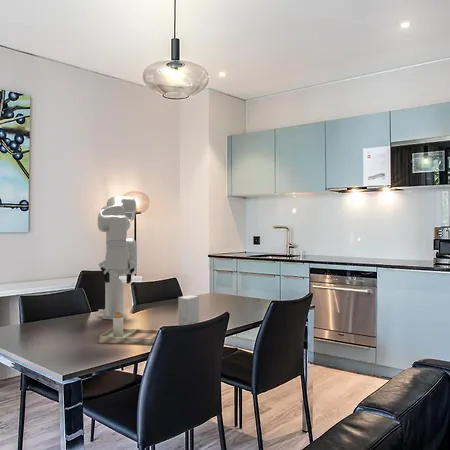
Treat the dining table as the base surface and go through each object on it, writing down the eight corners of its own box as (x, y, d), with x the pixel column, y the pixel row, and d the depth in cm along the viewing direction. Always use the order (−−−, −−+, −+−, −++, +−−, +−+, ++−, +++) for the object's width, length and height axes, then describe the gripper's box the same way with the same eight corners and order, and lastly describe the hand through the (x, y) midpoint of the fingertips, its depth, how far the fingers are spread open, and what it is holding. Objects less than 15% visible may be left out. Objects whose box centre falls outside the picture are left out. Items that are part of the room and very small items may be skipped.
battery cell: (111, 337, 201) (111, 312, 201) (115, 334, 206) (115, 310, 206) (121, 337, 201) (121, 312, 200) (124, 335, 205) (124, 310, 205)
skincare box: (189, 326, 227) (189, 294, 226) (199, 328, 222) (199, 296, 222) (177, 329, 220) (177, 296, 220) (187, 331, 216) (187, 298, 216)
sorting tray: (97, 342, 196) (97, 336, 196) (111, 333, 212) (111, 328, 212) (152, 344, 193) (152, 338, 193) (162, 335, 209) (162, 329, 209)
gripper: (95, 244, 200) (95, 283, 201) (134, 244, 198) (134, 284, 198) (102, 243, 208) (102, 281, 208) (139, 243, 205) (139, 282, 206)
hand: (118, 282), depth 203 cm, fingers open, 9 cm apart
